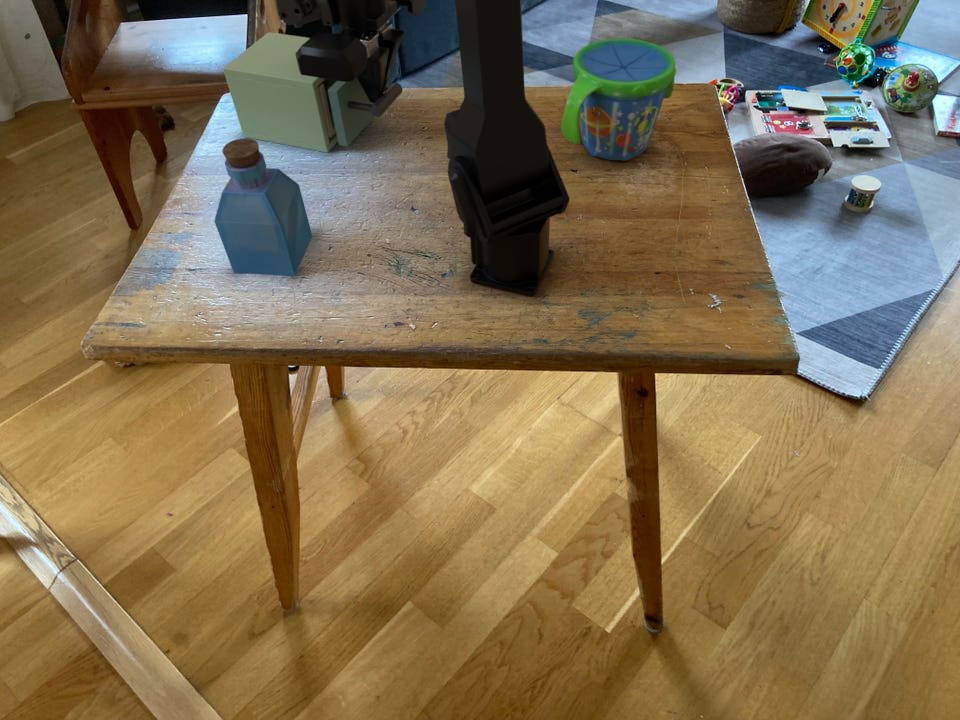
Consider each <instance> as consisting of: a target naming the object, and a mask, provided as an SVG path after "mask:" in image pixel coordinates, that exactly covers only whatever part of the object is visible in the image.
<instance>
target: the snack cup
mask: <svg viewBox="0 0 960 720" xmlns="http://www.w3.org/2000/svg"><path fill="white" fill-rule="evenodd" d="M572 67H573V75H574V79H575V81H574V83H573V85H572V86H571V90H570V91H569V94H568V97H567V100H566V103H565V106H564V111H563V116H562V119H561V125H560V129H561V133H562V135H563V137H564V138H565V140H567V142H569V143H571V144H573V145H579V144H580V143H581V141H582V143H583V146H584V147H585V149H586V150H587V151H588V152H589V153H590V155H591V156H592V157H597V158H601V159H604V160H609V161H622V162H625V161H629V160H630V159H633V158H637V157H639V156H640V155H641V154H643V152H645V151H646V150H647V149H648V147H649V144H650V142H651V139H652V136H653V133H654V130H655V126H656V124H657V121H658V118H659V115H660V111H661V109H662V105H663V102H664V100H665V99H669V98H670V97H672V95H673V92H674V90H675V76H676V74H677V68H676V60H675V58H674V56H673V53H671V52H670V51H669V50H667V49H665V48H664V47H662V46H660V45H658V44H656V43H653V42H649V41H646V40H641V39H635V38H610V39H602V40H598V41H595V42H592V43H589V44H587V45H585V46H583V47H582V48H580V49H579V50H578V51H577V52H576V54H575V55H574V57H572Z"/></svg>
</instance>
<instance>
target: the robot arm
mask: <svg viewBox="0 0 960 720" xmlns="http://www.w3.org/2000/svg"><path fill="white" fill-rule="evenodd" d="M275 1H276V10H277V14H278V16H279V18H280V19H281V20H282V22H283V23H284V24H286V25H288V26H292V25H293V26H294V28H296V29H299V28H302V27H304V25H305V24H308V23H312V22H315V21H318V20H321V21H322V25H323V26H327V27H334V26H339V29H340V30H338V32H337V33H332V32H327V31H326V32H325V31H317V32H315V33H313V35H312V36H311V37H309V38H310V39H309V40H308V41H306V42H305V43H304V44H303V45H302V46H301V47H300V48H299V50H298V51H297V52H296V53H295V55H296V59H297V63H298V68H299V72H300V73H301V75H306V76H312V77H318V78H324V79H330V80H336V81H343V82H348V81H353V80H354V79H355V78H356V77H357V79H358V81H359V82H360V84H361V86H362V88H363V90H364V92H365V93H366V95H367V97H368V99H369V101H370V102H371V103H375V102H376V101H377V100H378V99H379V98H380V97H381V96H382V95H383V94H384V91H385V88H386V85H387V84H388V80H389V77H390V74H391V72H392V68H393V67H394V66H393V65H394V63H395V60H396V57H397V54H398V51H399V48H400V46H401V43H402V40H403V38H405V35H406V34H405V30H404V29H398V28H394V27H393V23H392V22H390V20H391V18H393V17H394V16H395V15H396V14H397V13H398V12H399V11H400V10H401V6H403V7H407V12H408V14H409V15H410V16H411V17H413V18H414V17H415V18H417V17H418V16H419V15H421V13H422V12H423V11H424V10H425V9H426V8H427V5H426V0H275ZM454 3H455V14H456V24H457V34H458V45H459V55H460V65H461V75H462V84H463V85H462V86H463V97H464V98H463V100H462V103H461V105H460V107H459V109H456V110H453V111H450V112H447V113H446V115H445V119H444V122H443V123H444V125H443V126H444V132H445V136H446V137H445V138H446V142H447V144H446V145H447V152H446V158H447V159H449V161H448V165H447V176H448V182H449V184H450V188H451V192H452V196H453V201H454V206H455V209H456V213H457V215H458V218H459V220H460V221H461V223H463V234H464V235H465V237H467V238H469V242H470V259H471V263H472V265H473V266H474V268H473V270H472V272H471V273H470V275H469V280H470V281H469V282H471V283H473V284H478V285H481V286H485V287H489V288H494V289H498V290H502V291H507V292H512V293H516V294H519V295H524V296H529V297H533V296H535V295H536V294H537V292H538V290H539V287H540V286H541V283H542V282H543V279H544V278H545V275H546V273H547V271H548V269H549V267H550V265H551V263H552V261H553V259H554V256H555V252H554V250H553V249H550V223H551V218H552V217H554V216H556V215H562V214H564V213H565V212H566V210H567V208H568V206H569V203H570V196H569V195H570V194H569V193H568V190H567V188H566V186H565V183H564V181H563V179H562V176H561V174H560V172H559V169H558V167H557V165H556V162H555V160H554V157H553V154H552V152H551V150H550V147H549V145H548V140H547V131H546V125H545V123H544V122H543V120H541V118H540V116H539V115H538V114H537V112H536V111H535V109H533V107H532V106H531V104H530V102H528V100H527V98H526V91H525V65H524V42H523V41H524V39H523V18H522V17H523V13H522V12H523V11H522V0H454Z"/></svg>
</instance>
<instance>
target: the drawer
mask: <svg viewBox="0 0 960 720" xmlns="http://www.w3.org/2000/svg"><path fill="white" fill-rule="evenodd" d="M317 87H318V92H319V96H320V101H321V106H322V111H323V115H324V120H325V125H326V129H327V134H328V137H330V138H331V137H332V136H333V135H334V134H335V133H336V134H337V139H338V142H337V143H338V146H342V147H349V146H350V145H351V143H353V141H354V140H355V139H356V138H357V137H358V136H359V135H360V134H361V133H362V132H363V131H364V129H365V128H366V127H367V126H368V124H370V122H371V121H372V120H373V119H374V118H380V117H382V116H383V114H384V113H385V112H386V111H387V110H388V109H389V108H390V107H391V106H392V104H393V103H394V102H395V101H396V100H397V99H398V98H399V97H400V95H401V94H402V93H403V90H404V89H403V87H402V85H401V83H399V82H396V81H395V82H393V83H392V84H391V85H387V84H386V88H385V91H384V94H383V95H382V96H381V97H380V98H379V99H378V100H377V101H376V102H375V103H371V102H370V101H369V99H368V97H367V95H366V93H365V92H364V90H363V88H362V86H361V84H360V82H359V81H358V79H357V77H356V78H355V79H354V80H353V81H348V82H343V81H336V80H330V79H325V80H324V81H322V82H321V83H320V84H319V85H318V86H317Z"/></svg>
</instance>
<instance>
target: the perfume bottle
mask: <svg viewBox="0 0 960 720" xmlns="http://www.w3.org/2000/svg"><path fill="white" fill-rule="evenodd" d="M221 152H222V155H223V156H224V157H225V160H224V166H225V170H226V173H227V175H228V176H229V177H230V179H229V180H228V182H226V185H225V186H224V188H223V190H222V191H221V195H220V198H219V202H218V206H217V210H216V213H215V216H214V217H215V218H214V224H215V227H216V229H217V232H218V235H219V238H220V240H221V244H222V246H223V249H224V251H225V253H226V257H227V259H228V261H229V264H230V266H231V269H232V272H233V273H234V274H252V275H267V276H270V275H271V276H287V277H295V276H296V274H297V272H298V270H299V267H300V265H301V263H302V260H303V258H304V256H305V254H306V252H307V250H308V247H309V244H310V242H311V241H312V238H313V234H312V233H313V232H312V230H311V229H312V228H311V225H310V221H309V218H308V217H309V216H308V215H307V214H308V213H307V211H306V207H305V203H304V199H303V195H302V190H301V187H300V184H299V183H297V182H296V181H295V180H294V179H293V178H291V177H289V175H288V174H286V173H285V172H283V171H282V170H281V169H280V168H274V167H273V168H272V167H267V164H266V161H265V157H264V154H263V153H262V152H261V151H260V145H259V143H258V141H257V140H256V139H253V138H248V137H243V138H238V139H235V140H231V141H229V142H228V143H226V144H225V145H224V146H223V148H222V150H221Z"/></svg>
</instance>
